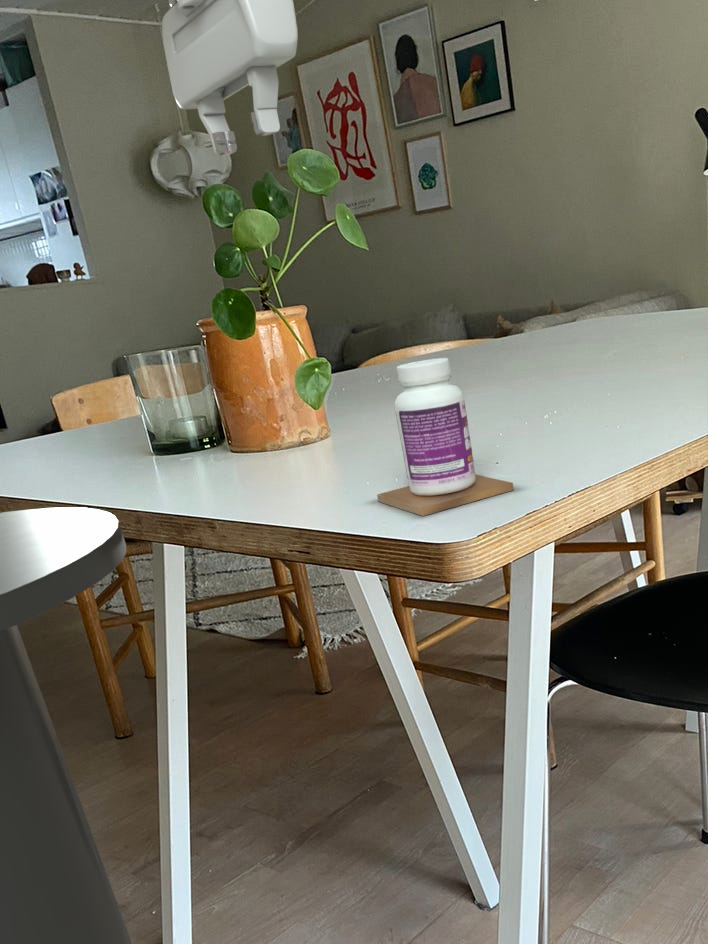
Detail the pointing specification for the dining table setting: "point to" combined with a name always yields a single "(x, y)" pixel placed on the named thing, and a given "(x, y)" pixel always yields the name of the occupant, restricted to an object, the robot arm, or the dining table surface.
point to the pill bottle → (433, 429)
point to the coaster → (444, 496)
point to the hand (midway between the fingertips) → (246, 144)
